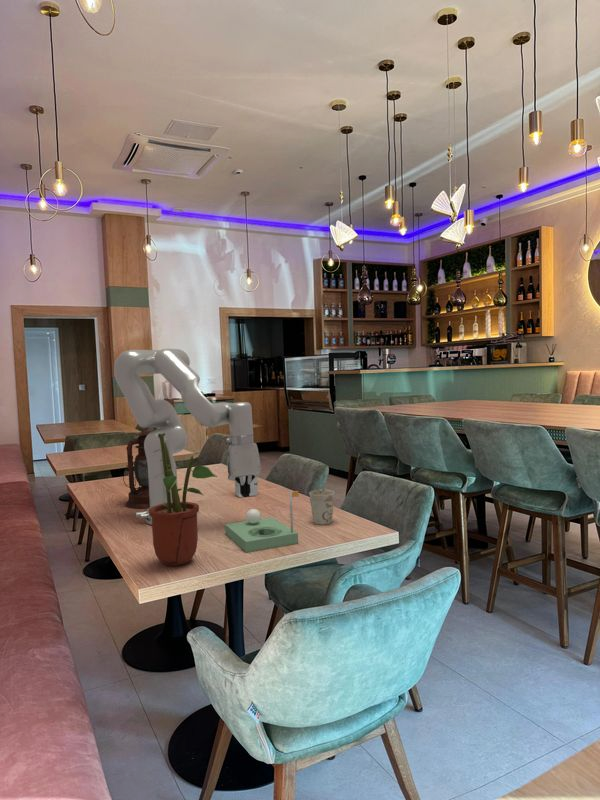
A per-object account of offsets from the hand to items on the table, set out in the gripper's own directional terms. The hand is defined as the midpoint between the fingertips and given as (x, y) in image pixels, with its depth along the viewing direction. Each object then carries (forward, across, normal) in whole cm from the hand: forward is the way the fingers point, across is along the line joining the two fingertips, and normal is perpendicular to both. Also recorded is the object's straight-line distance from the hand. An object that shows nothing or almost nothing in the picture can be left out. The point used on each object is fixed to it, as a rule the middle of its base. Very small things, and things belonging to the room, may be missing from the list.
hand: (245, 496), depth 180 cm
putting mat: (+10, -1, -14) cm, 18 cm away
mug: (+11, +23, -6) cm, 26 cm away
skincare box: (+10, +14, +42) cm, 45 cm away
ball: (+5, -1, -8) cm, 10 cm away
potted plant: (+10, -26, -21) cm, 35 cm away
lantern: (+9, -23, +50) cm, 55 cm away
